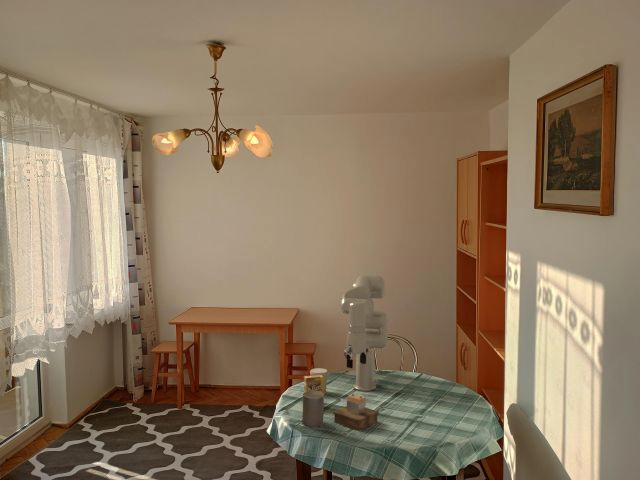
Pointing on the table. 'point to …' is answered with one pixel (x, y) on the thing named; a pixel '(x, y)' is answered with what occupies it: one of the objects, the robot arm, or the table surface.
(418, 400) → the table surface
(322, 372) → the coffee cup
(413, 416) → the table surface
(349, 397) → the cover
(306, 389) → the candy box
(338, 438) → the table surface
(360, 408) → the housing base
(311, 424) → the pillar candle
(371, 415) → the walnut stand
